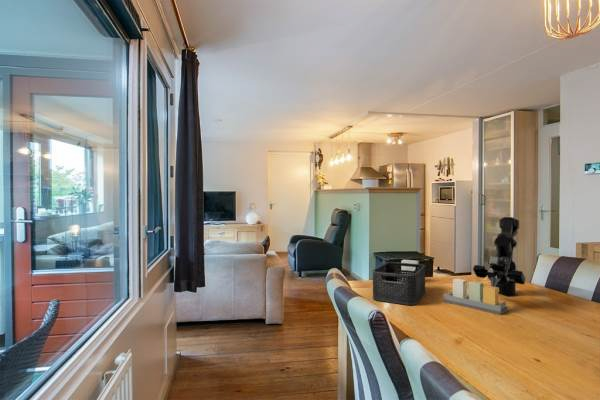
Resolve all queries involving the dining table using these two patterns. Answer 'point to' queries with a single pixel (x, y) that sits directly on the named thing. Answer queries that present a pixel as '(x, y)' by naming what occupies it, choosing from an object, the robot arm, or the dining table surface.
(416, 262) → the ink box
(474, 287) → the pale green tall block
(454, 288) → the white rectangular block
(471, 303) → the grey divided tray
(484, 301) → the orange block
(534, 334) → the dining table surface
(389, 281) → the storage bin
